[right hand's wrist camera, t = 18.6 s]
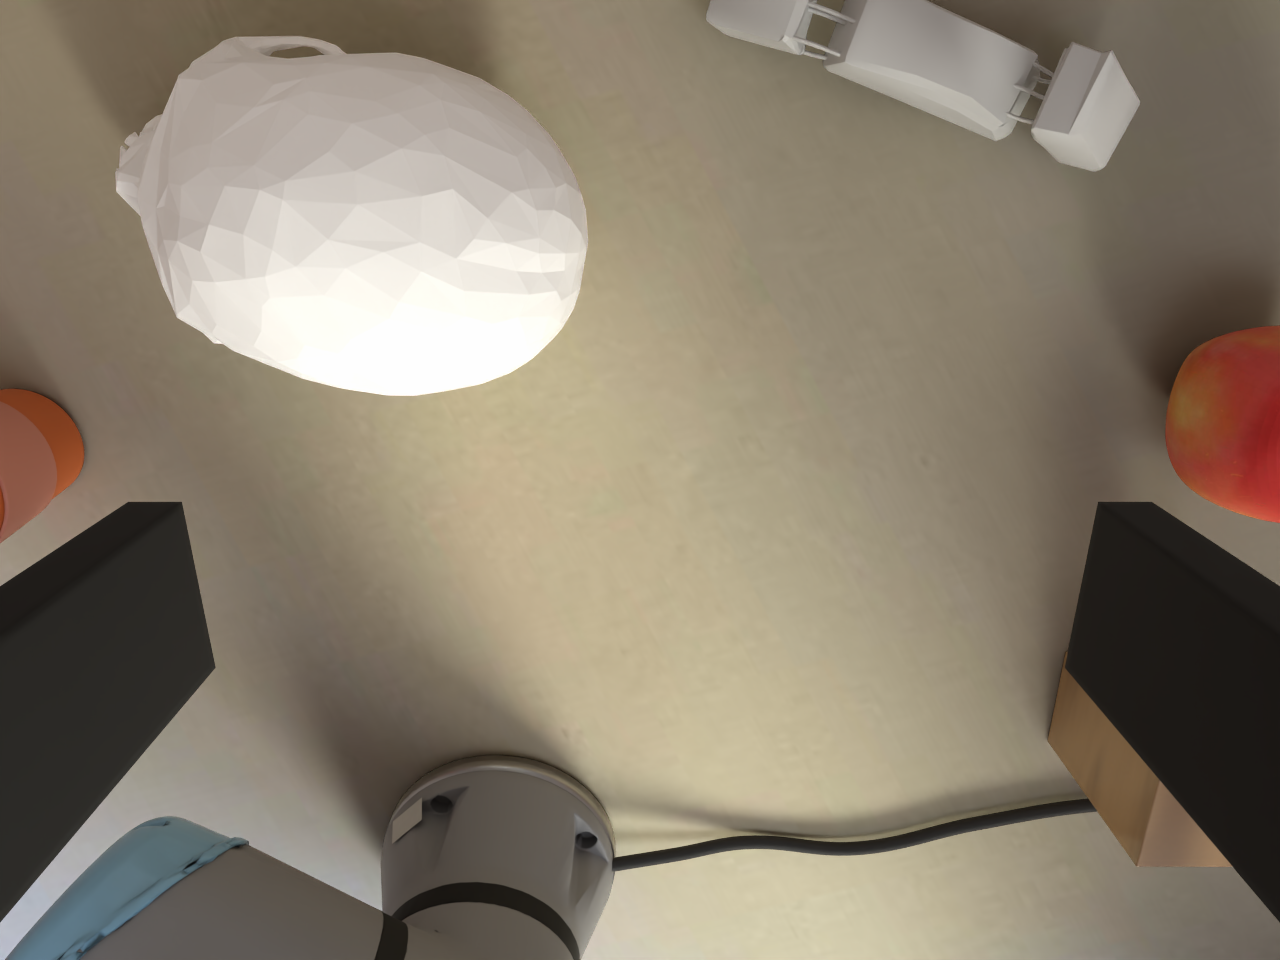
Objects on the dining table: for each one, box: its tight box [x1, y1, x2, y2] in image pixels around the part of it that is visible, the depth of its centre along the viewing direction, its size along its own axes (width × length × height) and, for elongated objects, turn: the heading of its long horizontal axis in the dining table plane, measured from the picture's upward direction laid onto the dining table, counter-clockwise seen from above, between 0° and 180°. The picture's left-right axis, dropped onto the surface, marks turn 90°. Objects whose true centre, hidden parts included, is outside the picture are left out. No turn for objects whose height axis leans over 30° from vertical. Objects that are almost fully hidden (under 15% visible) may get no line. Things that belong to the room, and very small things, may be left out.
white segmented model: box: [706, 0, 1140, 172], centre depth 38 cm, size 20×4×7 cm, turn 71°
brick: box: [1048, 651, 1233, 867], centre depth 48 cm, size 6×7×10 cm
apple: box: [1165, 326, 1280, 523], centre depth 41 cm, size 10×10×10 cm
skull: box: [115, 36, 588, 396], centre depth 35 cm, size 13×22×16 cm, turn 83°
